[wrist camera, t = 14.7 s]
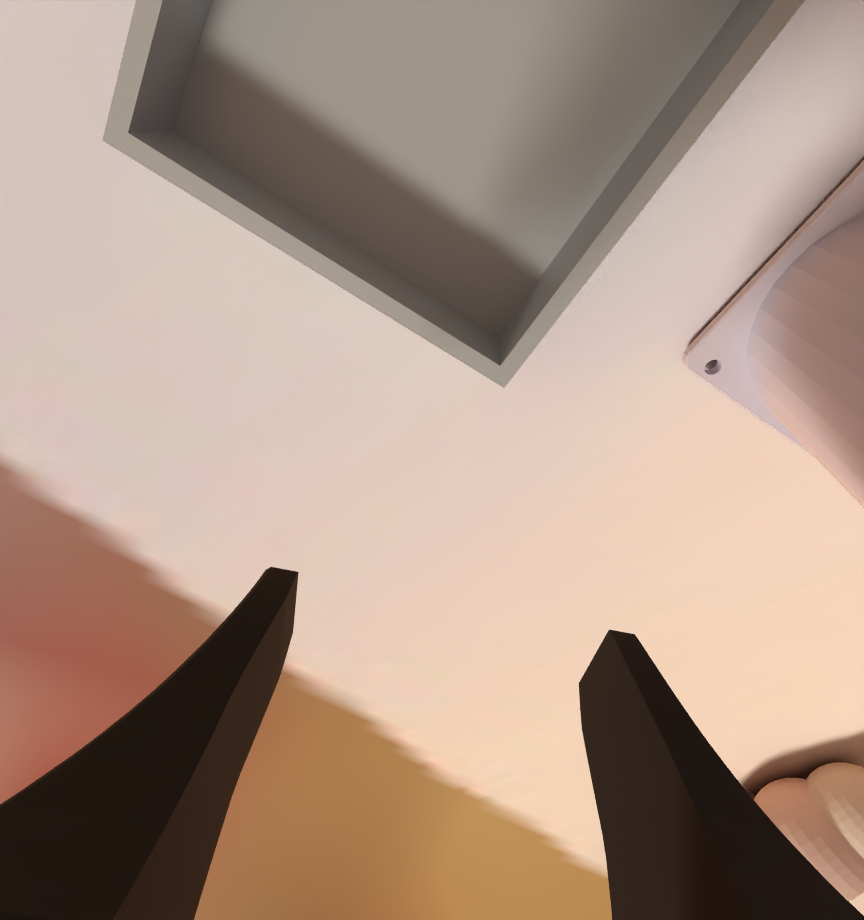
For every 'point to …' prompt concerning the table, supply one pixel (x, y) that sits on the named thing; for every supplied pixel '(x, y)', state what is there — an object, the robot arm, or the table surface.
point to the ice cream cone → (823, 821)
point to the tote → (435, 138)
